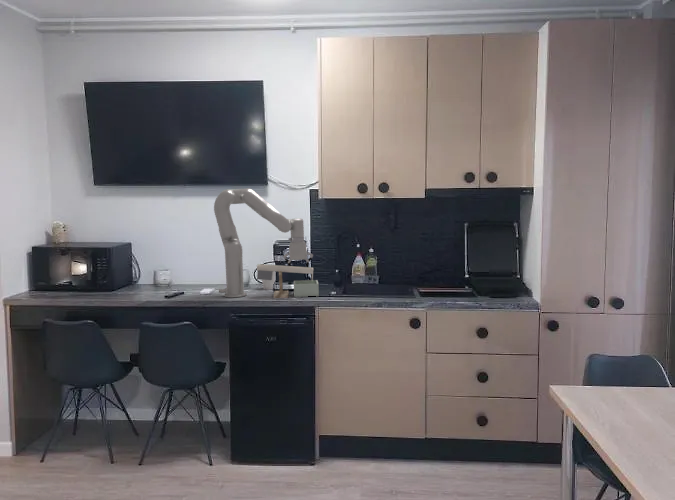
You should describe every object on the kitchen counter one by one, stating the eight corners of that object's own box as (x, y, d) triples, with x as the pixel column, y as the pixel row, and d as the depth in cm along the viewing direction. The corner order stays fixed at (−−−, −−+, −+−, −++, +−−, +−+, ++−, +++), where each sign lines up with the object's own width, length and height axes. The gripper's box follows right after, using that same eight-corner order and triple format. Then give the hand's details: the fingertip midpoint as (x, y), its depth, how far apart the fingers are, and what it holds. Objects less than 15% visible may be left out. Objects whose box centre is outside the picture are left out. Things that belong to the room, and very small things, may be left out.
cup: (294, 297, 333) (293, 284, 333) (294, 293, 347) (293, 280, 346) (318, 296, 334) (318, 283, 334) (317, 292, 348) (317, 280, 347)
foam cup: (257, 289, 362) (256, 267, 361) (266, 287, 370) (265, 265, 369) (271, 290, 358) (270, 268, 356) (279, 287, 366) (278, 266, 364)
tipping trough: (256, 279, 334) (257, 265, 334) (257, 274, 351) (258, 261, 350) (312, 282, 337) (313, 269, 336) (311, 278, 353) (312, 265, 353)
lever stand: (273, 298, 332) (272, 272, 331) (274, 293, 346) (273, 268, 345) (288, 297, 333) (287, 271, 331) (288, 293, 347) (287, 268, 345)
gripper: (282, 241, 343) (283, 271, 345) (312, 240, 344) (313, 269, 346) (282, 240, 350) (283, 269, 352) (312, 238, 351) (313, 268, 353)
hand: (298, 269), depth 349 cm, fingers open, 9 cm apart
